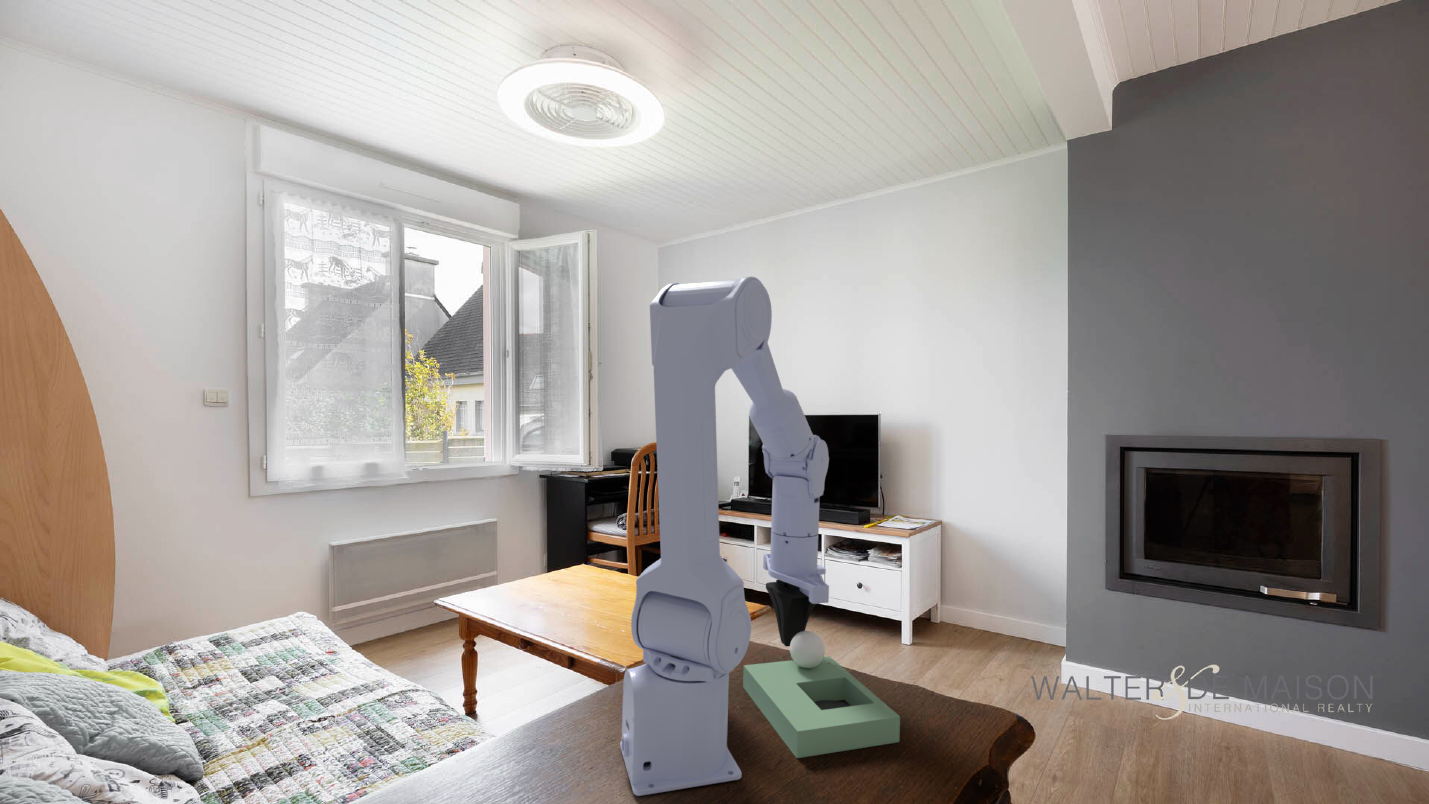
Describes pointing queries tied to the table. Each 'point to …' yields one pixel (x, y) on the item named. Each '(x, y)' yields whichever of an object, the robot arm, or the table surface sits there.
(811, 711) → the green
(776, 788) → the table surface
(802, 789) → the table surface
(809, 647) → the ball
